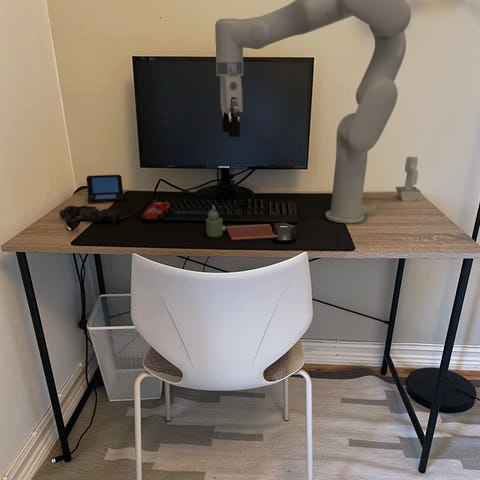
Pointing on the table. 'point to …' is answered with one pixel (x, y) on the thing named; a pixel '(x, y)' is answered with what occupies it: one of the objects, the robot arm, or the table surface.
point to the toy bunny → (214, 224)
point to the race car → (156, 211)
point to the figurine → (409, 181)
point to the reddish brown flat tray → (251, 232)
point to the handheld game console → (104, 188)
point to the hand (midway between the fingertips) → (231, 134)
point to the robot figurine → (89, 214)
